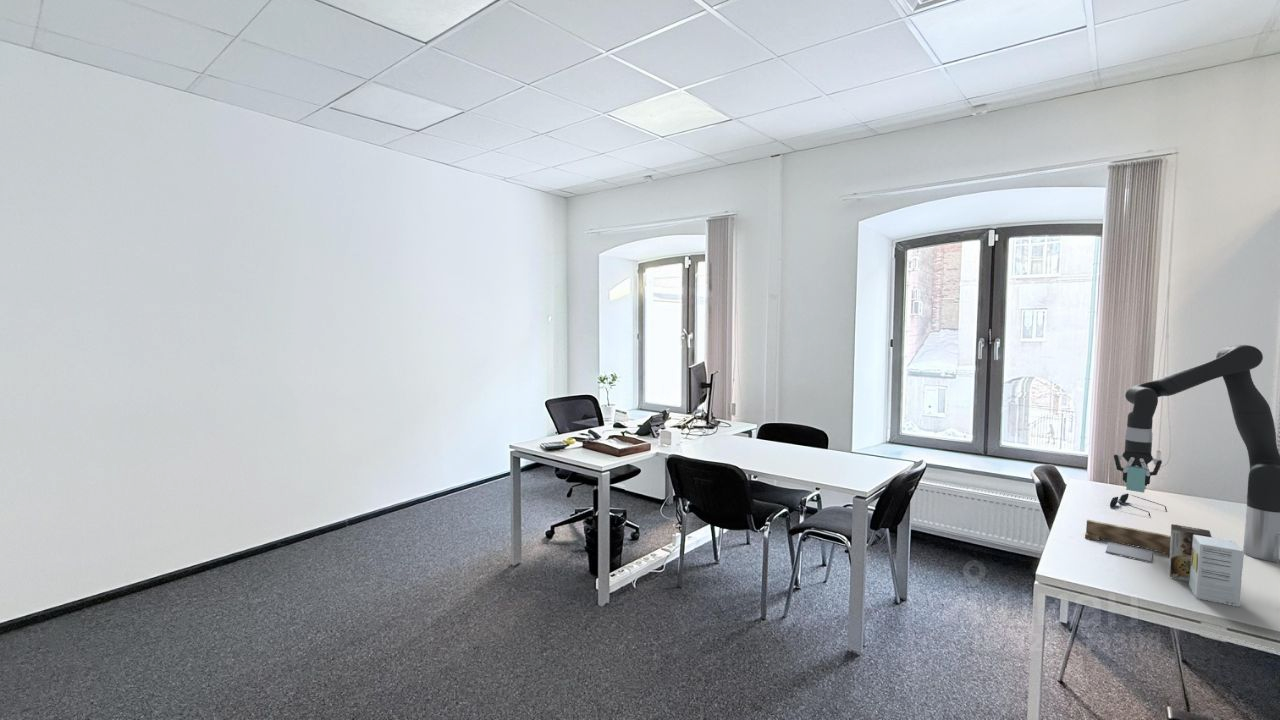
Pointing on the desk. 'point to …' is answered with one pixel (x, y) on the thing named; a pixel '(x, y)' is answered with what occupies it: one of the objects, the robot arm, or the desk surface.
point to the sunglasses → (1124, 499)
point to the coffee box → (1182, 550)
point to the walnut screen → (1128, 536)
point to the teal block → (1136, 478)
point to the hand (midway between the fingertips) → (1135, 483)
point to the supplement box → (1216, 570)
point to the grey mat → (1129, 551)
